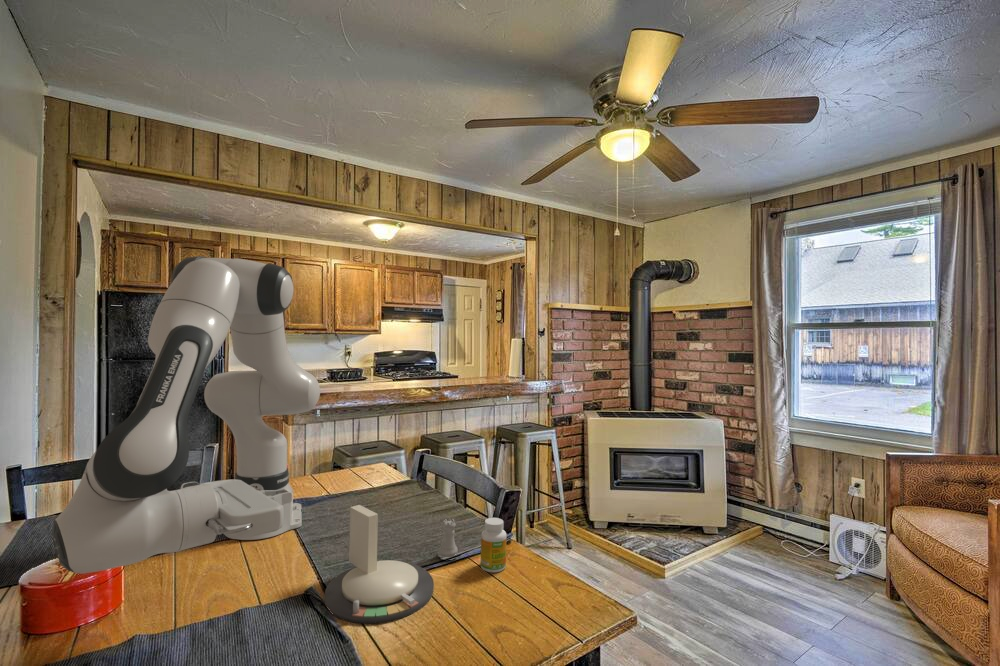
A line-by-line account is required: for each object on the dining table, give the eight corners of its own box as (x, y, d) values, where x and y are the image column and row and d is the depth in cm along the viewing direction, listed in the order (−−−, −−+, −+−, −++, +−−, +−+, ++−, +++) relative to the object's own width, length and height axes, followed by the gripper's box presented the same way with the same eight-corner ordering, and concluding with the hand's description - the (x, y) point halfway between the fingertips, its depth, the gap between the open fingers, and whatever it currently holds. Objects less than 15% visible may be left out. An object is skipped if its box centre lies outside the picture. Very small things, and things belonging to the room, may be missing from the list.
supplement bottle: (491, 575, 96) (492, 528, 96) (475, 565, 100) (476, 520, 100) (511, 567, 100) (512, 521, 100) (494, 558, 104) (495, 514, 104)
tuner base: (304, 591, 89) (305, 575, 89) (394, 556, 104) (394, 542, 104) (361, 639, 75) (361, 620, 75) (455, 592, 90) (455, 576, 90)
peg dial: (320, 578, 91) (322, 514, 91) (382, 554, 101) (384, 497, 101) (377, 622, 78) (379, 548, 78) (443, 590, 88) (444, 525, 88)
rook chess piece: (454, 562, 101) (455, 525, 102) (434, 560, 102) (435, 523, 102) (460, 553, 106) (461, 517, 106) (441, 551, 107) (442, 515, 107)
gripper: (220, 512, 66) (316, 490, 76) (180, 480, 80) (266, 465, 90) (219, 558, 65) (315, 530, 76) (179, 518, 79) (265, 499, 90)
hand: (288, 495), depth 83 cm, fingers closed
